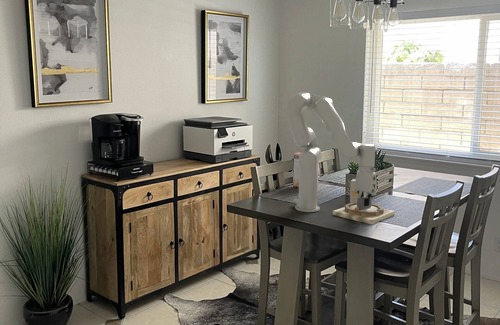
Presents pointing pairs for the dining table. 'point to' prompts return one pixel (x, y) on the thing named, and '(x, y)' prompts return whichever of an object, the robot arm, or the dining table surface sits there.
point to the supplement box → (354, 192)
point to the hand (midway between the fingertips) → (364, 204)
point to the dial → (361, 206)
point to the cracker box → (296, 169)
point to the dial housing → (364, 213)
